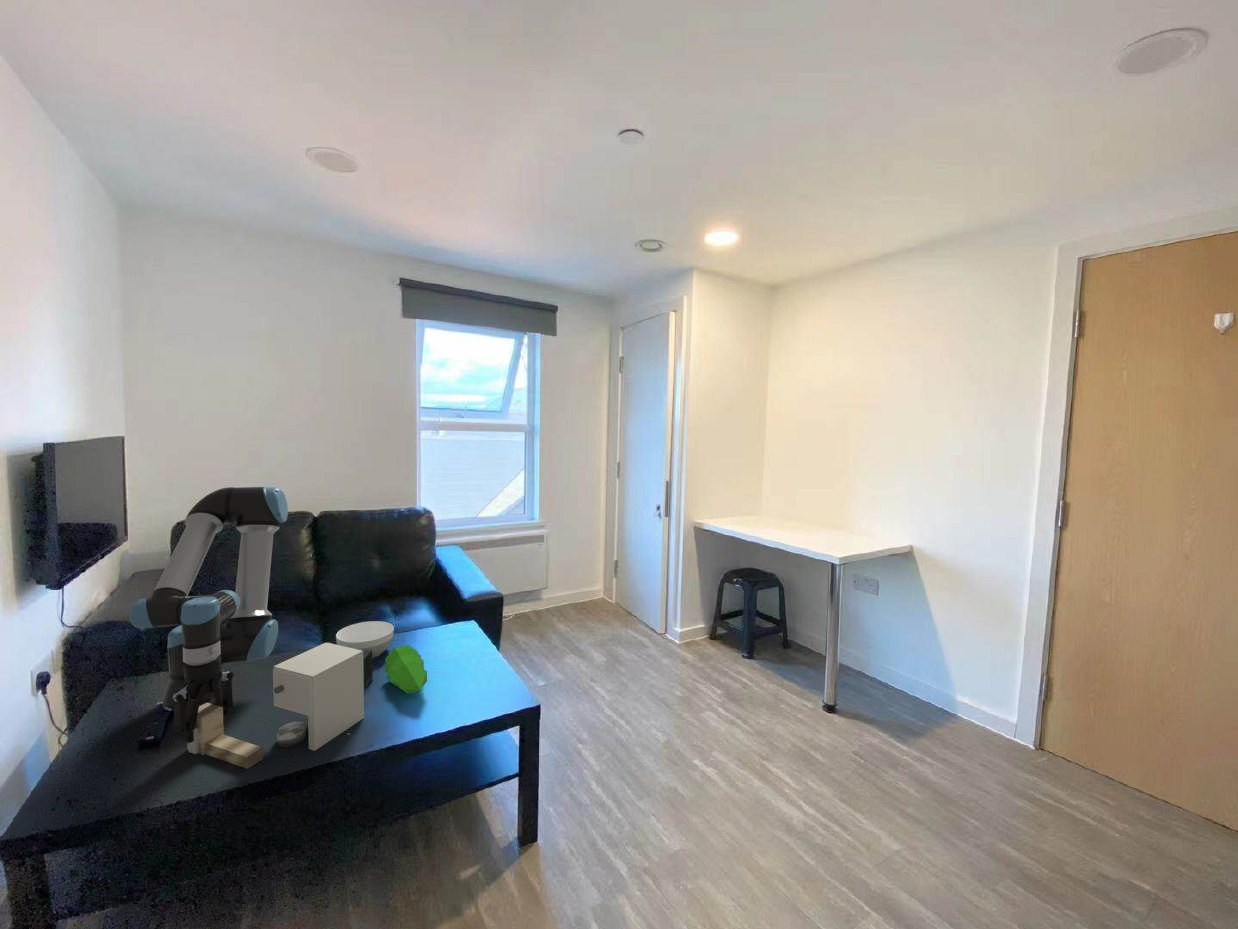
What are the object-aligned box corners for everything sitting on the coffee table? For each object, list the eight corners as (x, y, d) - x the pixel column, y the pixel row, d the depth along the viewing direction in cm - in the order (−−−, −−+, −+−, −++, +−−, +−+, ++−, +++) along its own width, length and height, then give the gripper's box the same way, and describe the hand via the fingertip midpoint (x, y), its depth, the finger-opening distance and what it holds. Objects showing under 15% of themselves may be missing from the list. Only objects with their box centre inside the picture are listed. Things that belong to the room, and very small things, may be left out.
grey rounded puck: (271, 743, 136) (271, 732, 136) (293, 730, 142) (293, 719, 142) (289, 748, 134) (289, 737, 134) (311, 735, 140) (311, 724, 140)
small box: (373, 679, 170) (373, 649, 169) (364, 690, 163) (364, 658, 163) (341, 679, 170) (340, 648, 169) (330, 689, 163) (330, 657, 162)
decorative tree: (406, 631, 179) (430, 663, 154) (420, 658, 182) (445, 693, 157) (373, 651, 173) (392, 687, 149) (388, 678, 176) (409, 718, 152)
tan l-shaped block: (187, 749, 132) (185, 712, 132) (208, 738, 137) (207, 702, 136) (245, 770, 125) (243, 731, 125) (265, 757, 130) (263, 719, 129)
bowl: (385, 639, 201) (385, 617, 200) (400, 657, 186) (400, 633, 186) (331, 651, 189) (330, 628, 188) (342, 672, 174) (342, 647, 174)
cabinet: (268, 742, 136) (266, 669, 134) (327, 707, 153) (326, 642, 151) (307, 755, 131) (305, 680, 130) (364, 718, 148) (363, 650, 147)
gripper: (171, 678, 122) (175, 771, 124) (248, 647, 139) (251, 729, 141) (151, 672, 125) (155, 763, 126) (229, 642, 142) (232, 723, 143)
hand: (206, 745), depth 134 cm, fingers closed on tan l-shaped block, 5 cm apart
